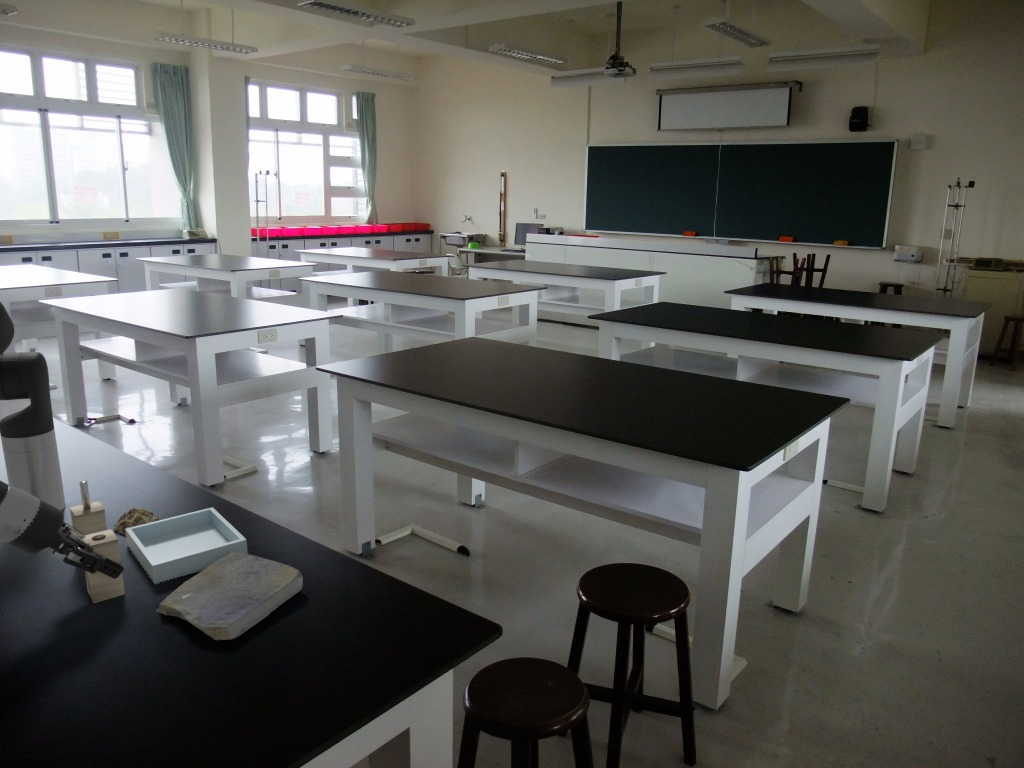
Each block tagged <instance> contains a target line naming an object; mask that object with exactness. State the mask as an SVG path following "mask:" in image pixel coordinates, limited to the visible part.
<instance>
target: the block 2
mask: <svg viewBox="0 0 1024 768" xmlns="http://www.w3.org/2000/svg"><path fill="white" fill-rule="evenodd" d="M85 536H86V537H83V538H81V539H83V540H84V541H86V542H88V543H89V544H91V546H93V548H94V549H93V550H94V551H96V552H98V553H100V554H101V555H104V557H106V558H108V559H110V560H112V561H114V562H116V563H118V564H120V565H122V561H121V553H120V546H119V538H118V537H117V536H116V534H115V532H114V531H113V530H112V529H111V528H110V529H107V530H105V531H101V532H97V533H93V534H89V535H85ZM83 550H85V551H86V550H87V548H86V547H85V548H84V549H83ZM93 561H94V560H91V561H90V562H89V563H90V564H92V562H93ZM84 574H85V582H86V588H87V593H88V595H89V597H90V599H91V600H92V603H93V604H97V603H99V602H103V601H106V600H110V599H113V598H117V597H120V596H124V595H126V591H125V585H124V579H123V578H124V576H123V575H124V574H123V572H122V573H121V574H120V576H119V577H118V578H116V579H114V578H111V577H109V576H107V575H105V574H103V573H101V572H99V571H96V572H95V574H93V573H90V572H87V571H85V570H84Z"/></svg>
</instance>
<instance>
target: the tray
mask: <svg viewBox="0 0 1024 768" xmlns="http://www.w3.org/2000/svg"><path fill="white" fill-rule="evenodd" d="M125 531H126V535H125V538H126V545H128V546H127V547H129V548H130V549H129V548H128V549H129V550H130V552H131V551H132V552H131V554H132V555H133V554H134V555H135V556H134V555H133V556H134V557H135V559H136V558H137V559H136V560H137V562H138V561H139V562H140V563H139V562H138V563H139V565H142V566H141V567H142V569H143V568H144V569H143V570H144V572H145V571H146V572H147V573H146V572H145V573H146V575H147V576H148V575H149V576H148V577H149V579H150V578H151V579H150V580H151V581H152V583H153V585H158V584H160V582H162V583H164V582H163V581H165V582H167V581H166V580H168V581H170V579H172V580H174V579H173V578H175V579H178V578H177V577H179V578H181V577H180V576H182V577H185V576H188V574H189V575H191V574H196V573H200V572H201V571H203V570H204V569H206V568H207V567H208V566H209V565H211V564H212V563H213V562H215V561H216V560H218V559H220V558H222V557H224V556H227V555H228V554H230V553H231V552H233V551H236V552H242V553H246V554H249V552H248V544H247V543H248V542H247V541H248V540H247V539H246V538H245V536H243V535H242V534H241V532H239V531H238V530H237V529H236V528H235V527H234V526H233V525H232V524H231V523H230V522H229V521H227V519H225V518H224V516H222V515H221V514H220V513H219V512H218V511H217V510H216V509H215V508H214V507H208V508H204V509H200V510H196V511H193V512H187V513H183V514H179V515H175V516H172V517H168V518H163V519H159V521H155V522H151V523H147V524H143V525H139V526H135V527H131V528H127V529H125Z"/></svg>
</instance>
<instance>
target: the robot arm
mask: <svg viewBox="0 0 1024 768" xmlns="http://www.w3.org/2000/svg"><path fill="white" fill-rule="evenodd" d="M14 337H15V325H14V322H13V320H12V318H11V316H10V315H9V312H8V311H7V309H6V307H5V306H4V304H3V303H2V302H1V301H0V401H13V400H16V401H17V400H26V399H30V404H28V406H26V407H24V408H23V409H21V410H20V411H17V412H15V413H11V414H9V415H7V416H4V417H3V418H1V419H0V441H1V446H2V447H1V448H2V452H3V458H4V464H5V465H4V466H5V470H6V476H7V482H8V484H7V483H6V482H4V481H2V480H0V541H1V542H4V543H5V544H9V545H10V546H12V547H14V548H17V549H19V550H21V551H23V552H25V553H27V554H29V555H34V554H35V555H36V554H38V553H40V552H41V551H42V550H45V549H46V548H50V549H51V553H52V554H53V555H55V556H56V557H58V558H60V559H61V558H63V559H62V561H63V563H64V564H66V565H70V566H72V567H75V568H78V569H81V570H82V571H84V572H85V571H87V572H90V573H93V574H95V572H96V571H99V572H101V573H103V574H105V575H107V576H109V577H111V578H114V579H116V578H118V577H119V576H120V574H121V573H122V574H123V572H124V571H125V568H124V566H123V565H122V564H121V565H120V564H118V563H116V562H114V561H112V560H110V559H108V558H106V557H104V555H101V554H100V553H98V552H96V551H94V550H93V549H94V548H93V546H91V544H89V543H88V542H86V541H84V540H83V539H81V538H83V537H86V536H85V535H86V534H84V533H82V532H81V531H79V530H77V529H75V528H74V527H73V526H72V525H71V524H68V523H67V522H65V514H64V512H63V510H64V509H65V507H66V499H65V491H64V484H63V478H62V470H61V465H60V458H59V456H60V455H59V452H58V451H59V450H58V445H57V438H56V432H55V431H56V430H55V423H54V415H53V407H52V400H51V391H50V375H49V374H50V373H49V367H48V364H47V363H48V362H47V359H46V358H45V356H44V355H43V353H41V352H39V351H23V352H22V351H21V352H6V350H8V348H9V347H10V345H11V343H12V341H13V340H14ZM5 352H6V353H5ZM85 547H86V548H87V550H86V551H85V550H83V549H84V548H85ZM91 560H94V561H93V562H92V564H90V563H89V562H90V561H91Z"/></svg>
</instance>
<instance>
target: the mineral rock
mask: <svg viewBox="0 0 1024 768" xmlns="http://www.w3.org/2000/svg"><path fill="white" fill-rule="evenodd" d="M159 520H160V518H159V517H158V516H155V514H154V513H153V512H151V511H148V510H146V509H144V508H138V507H136V508H135V507H133V508H130V509H129V510H128V511H126V512H123V514H122V515H121V516H120V517H119V518H118V520H117V523H115V524H114V527H113V530H114V531H116V532H118V533H119V534H120V533H121V534H120V535H123V536H124V535H125V536H126V531H125V529H127V528H131V527H135V526H139V525H143V524H147V523H151V522H155V521H159Z"/></svg>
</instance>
